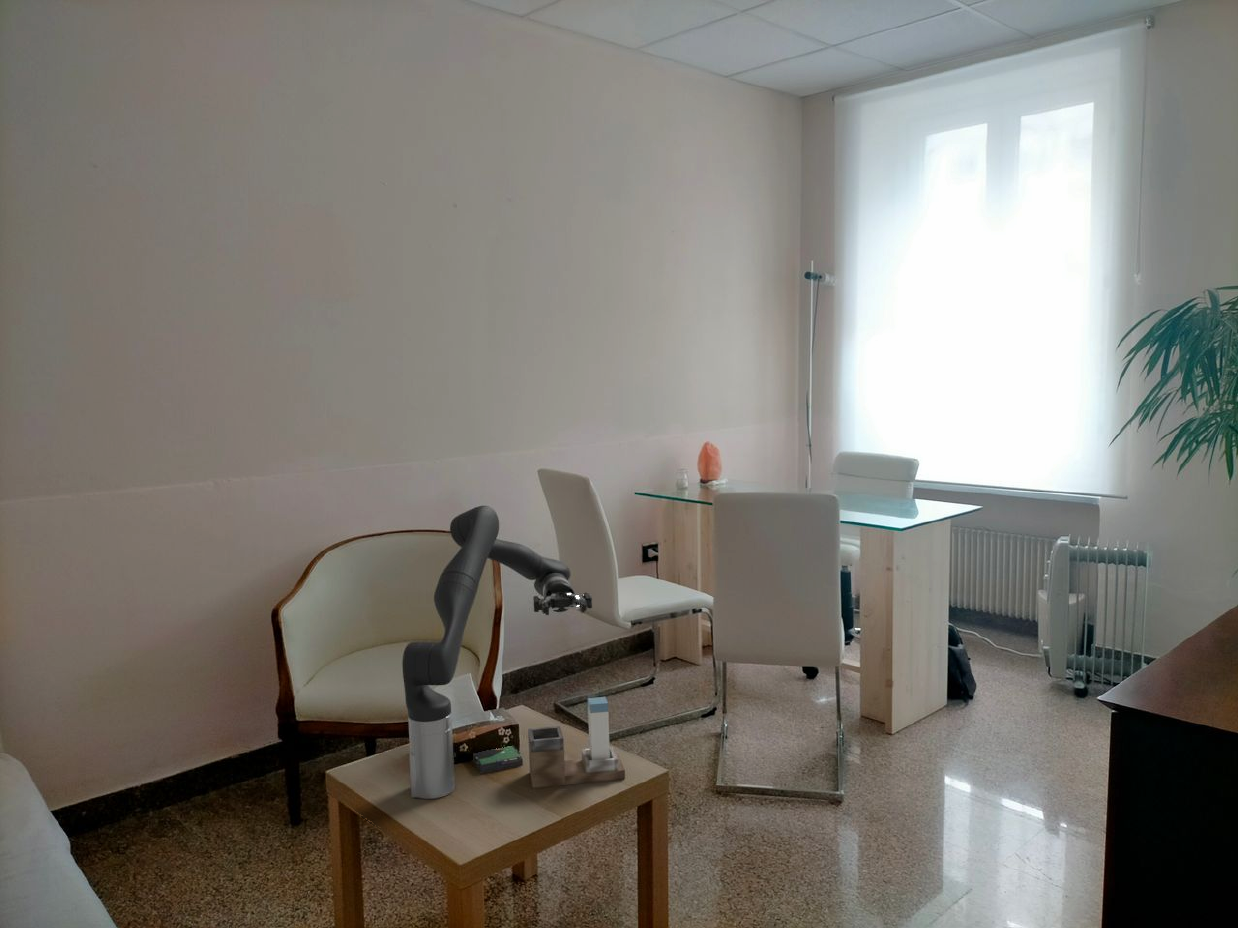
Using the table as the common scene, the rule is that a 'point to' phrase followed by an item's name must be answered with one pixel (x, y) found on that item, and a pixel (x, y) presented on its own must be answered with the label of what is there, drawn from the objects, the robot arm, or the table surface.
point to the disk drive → (497, 759)
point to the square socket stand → (566, 762)
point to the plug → (598, 728)
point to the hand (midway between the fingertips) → (565, 609)
